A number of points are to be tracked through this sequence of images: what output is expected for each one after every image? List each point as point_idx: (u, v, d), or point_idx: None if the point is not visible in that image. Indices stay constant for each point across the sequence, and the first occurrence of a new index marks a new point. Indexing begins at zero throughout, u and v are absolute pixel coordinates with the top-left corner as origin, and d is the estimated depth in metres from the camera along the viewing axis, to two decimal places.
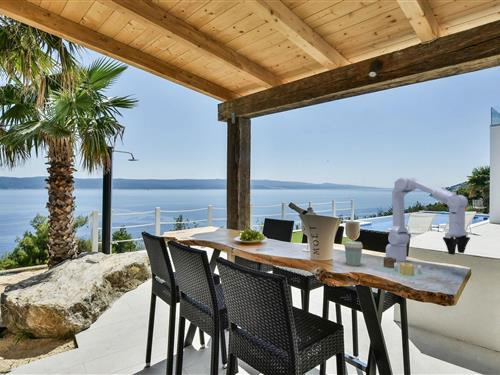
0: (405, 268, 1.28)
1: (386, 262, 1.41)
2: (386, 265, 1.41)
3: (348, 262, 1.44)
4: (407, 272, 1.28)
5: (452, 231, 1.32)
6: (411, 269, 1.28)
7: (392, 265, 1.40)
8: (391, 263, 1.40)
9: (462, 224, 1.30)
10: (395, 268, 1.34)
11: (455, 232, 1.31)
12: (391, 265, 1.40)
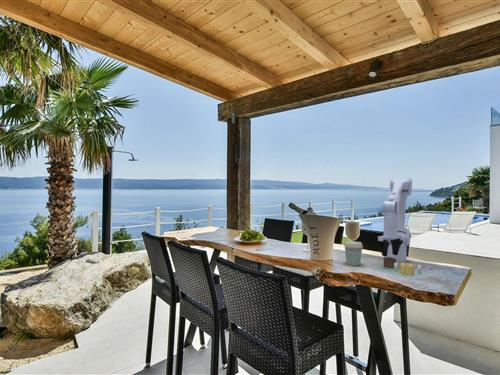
0: (405, 268, 1.28)
1: (386, 262, 1.41)
2: (386, 265, 1.41)
3: (348, 262, 1.44)
4: (407, 272, 1.28)
5: (385, 234, 1.41)
6: (411, 269, 1.28)
7: (392, 265, 1.40)
8: (391, 263, 1.40)
9: (394, 228, 1.39)
10: (395, 268, 1.34)
11: (388, 235, 1.40)
12: (391, 265, 1.40)
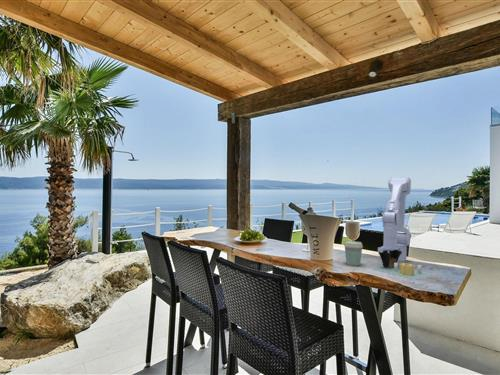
0: (405, 268, 1.28)
1: None
2: None
3: (348, 262, 1.44)
4: (407, 272, 1.28)
5: (385, 245, 1.41)
6: (411, 269, 1.28)
7: (392, 265, 1.40)
8: (391, 263, 1.40)
9: (394, 239, 1.39)
10: (395, 268, 1.34)
11: (387, 246, 1.40)
12: (391, 265, 1.40)
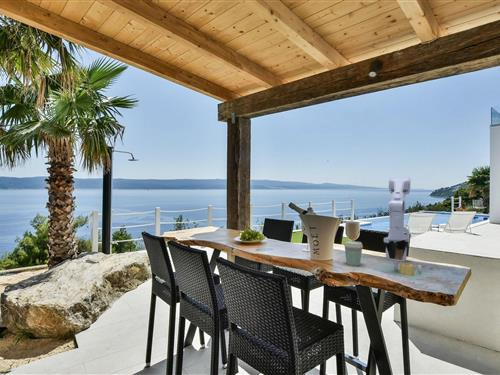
0: (405, 268, 1.28)
1: None
2: None
3: (348, 262, 1.44)
4: (407, 272, 1.28)
5: (391, 236, 1.34)
6: (411, 269, 1.28)
7: (398, 256, 1.32)
8: (398, 254, 1.32)
9: (400, 229, 1.32)
10: (395, 268, 1.34)
11: (394, 237, 1.33)
12: (398, 256, 1.32)
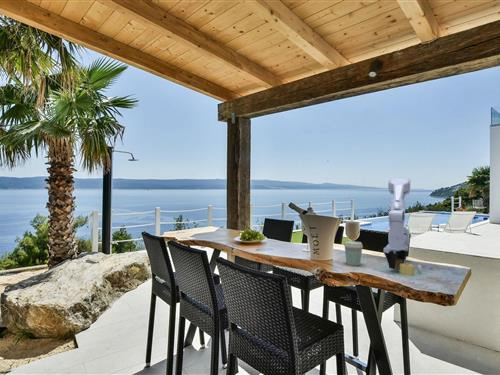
0: (405, 268, 1.28)
1: None
2: None
3: (348, 262, 1.44)
4: (407, 272, 1.28)
5: (391, 245, 1.34)
6: (411, 269, 1.28)
7: (398, 266, 1.32)
8: (397, 264, 1.32)
9: (400, 239, 1.32)
10: None
11: (394, 247, 1.32)
12: (397, 266, 1.32)
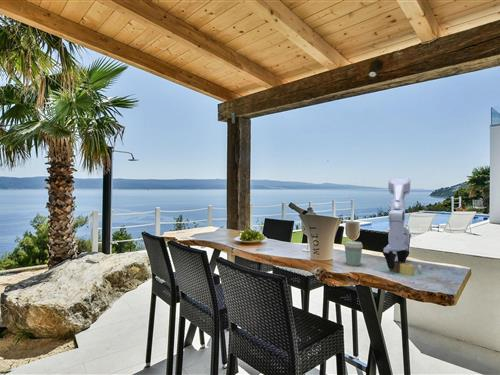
0: (405, 268, 1.28)
1: None
2: (392, 269, 1.34)
3: (348, 262, 1.44)
4: (407, 272, 1.28)
5: (391, 245, 1.34)
6: (411, 269, 1.28)
7: (398, 269, 1.32)
8: (397, 267, 1.32)
9: (400, 239, 1.32)
10: None
11: (394, 246, 1.32)
12: (397, 269, 1.32)
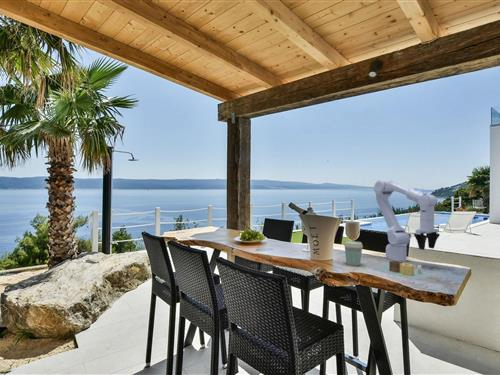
0: (405, 268, 1.28)
1: (392, 266, 1.34)
2: (392, 269, 1.34)
3: (348, 262, 1.44)
4: (407, 272, 1.28)
5: (422, 228, 1.43)
6: (411, 269, 1.28)
7: (398, 269, 1.32)
8: (397, 267, 1.32)
9: (431, 221, 1.41)
10: None
11: (425, 229, 1.42)
12: (397, 269, 1.32)
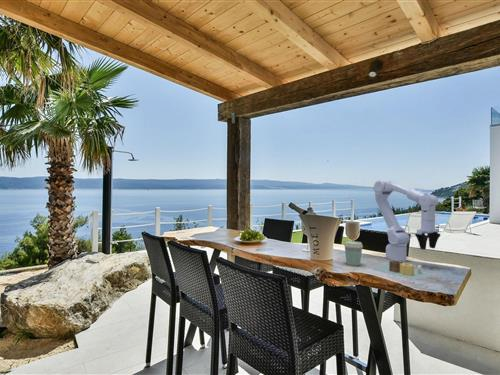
0: (405, 268, 1.28)
1: (392, 266, 1.34)
2: (392, 269, 1.34)
3: (348, 262, 1.44)
4: (407, 272, 1.28)
5: (423, 228, 1.43)
6: (411, 269, 1.28)
7: (398, 269, 1.32)
8: (397, 267, 1.32)
9: (432, 221, 1.42)
10: None
11: (426, 229, 1.42)
12: (397, 269, 1.32)
